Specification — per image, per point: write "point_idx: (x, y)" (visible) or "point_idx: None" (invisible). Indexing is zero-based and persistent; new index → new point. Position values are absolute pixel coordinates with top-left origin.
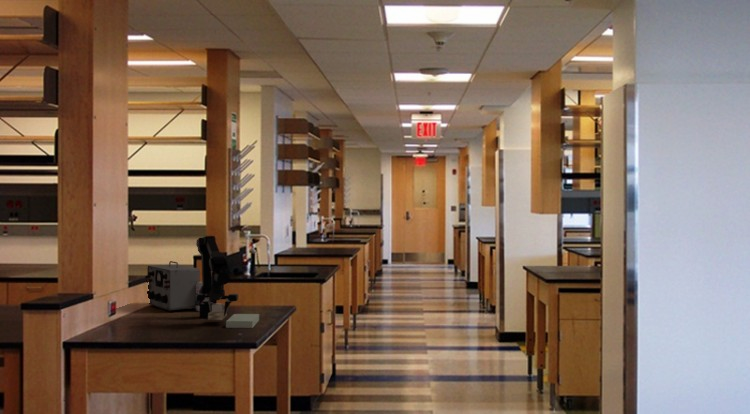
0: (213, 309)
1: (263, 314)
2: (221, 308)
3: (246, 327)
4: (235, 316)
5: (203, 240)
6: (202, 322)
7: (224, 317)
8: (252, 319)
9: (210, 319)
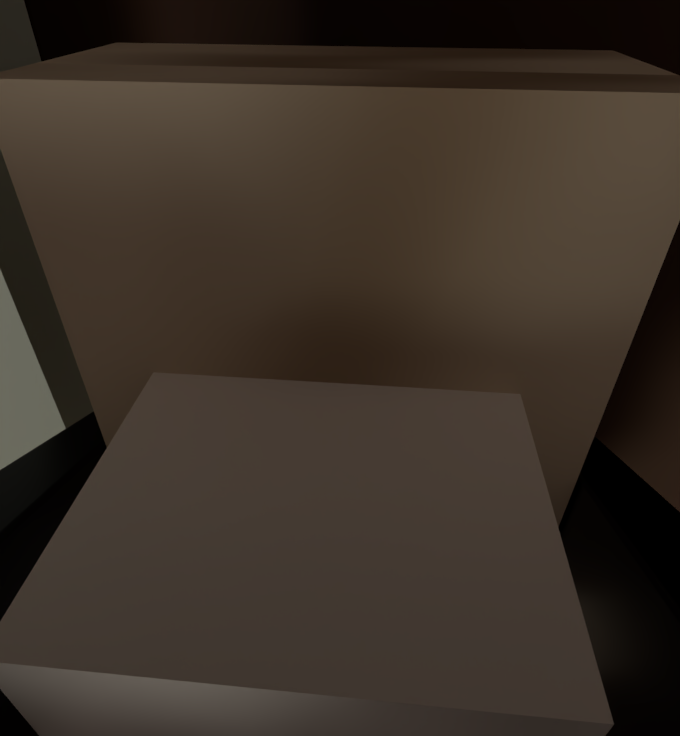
0: (463, 472)
1: None
2: (85, 484)
3: None
4: (2, 467)
5: None
6: (648, 443)
7: None
8: None
9: (526, 50)
